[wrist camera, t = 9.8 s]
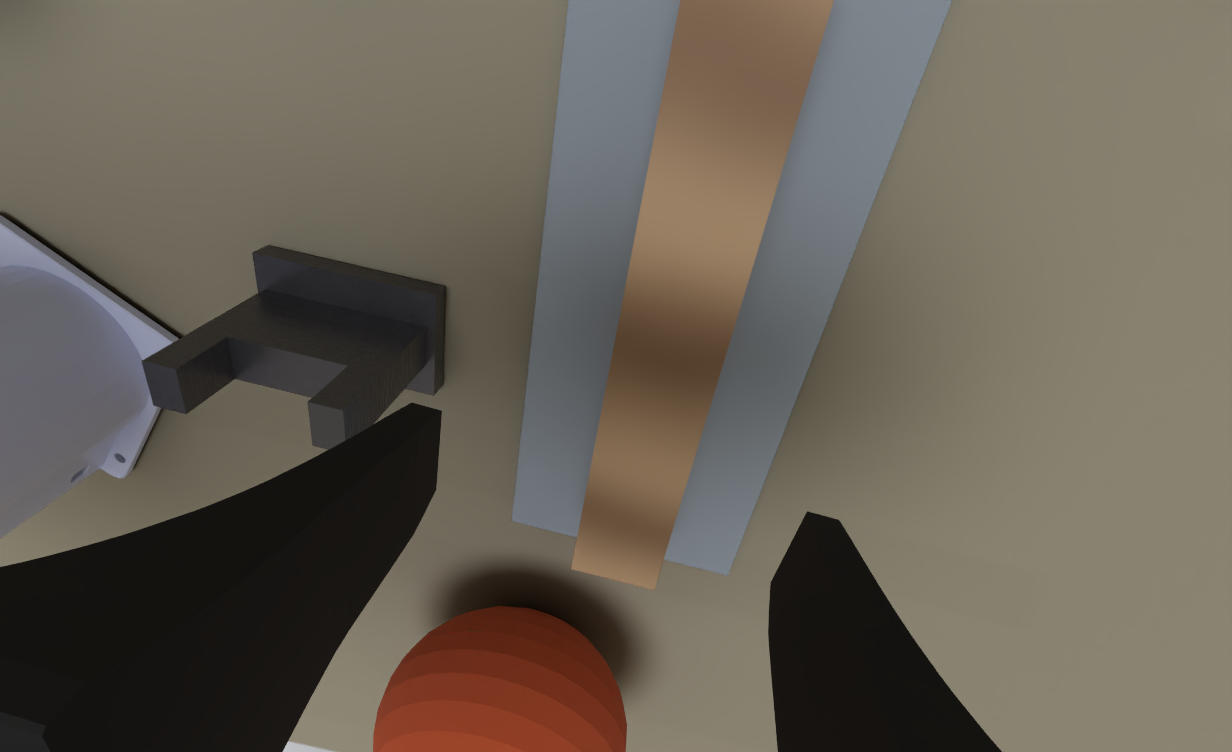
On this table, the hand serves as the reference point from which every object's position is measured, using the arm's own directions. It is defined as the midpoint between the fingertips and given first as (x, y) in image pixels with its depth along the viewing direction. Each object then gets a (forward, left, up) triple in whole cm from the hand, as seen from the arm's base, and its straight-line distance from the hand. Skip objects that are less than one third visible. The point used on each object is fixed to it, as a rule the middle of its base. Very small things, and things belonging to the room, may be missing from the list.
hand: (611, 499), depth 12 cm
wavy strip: (0, 0, -9) cm, 9 cm away
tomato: (-17, -7, -10) cm, 21 cm away
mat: (0, -1, -9) cm, 9 cm away
